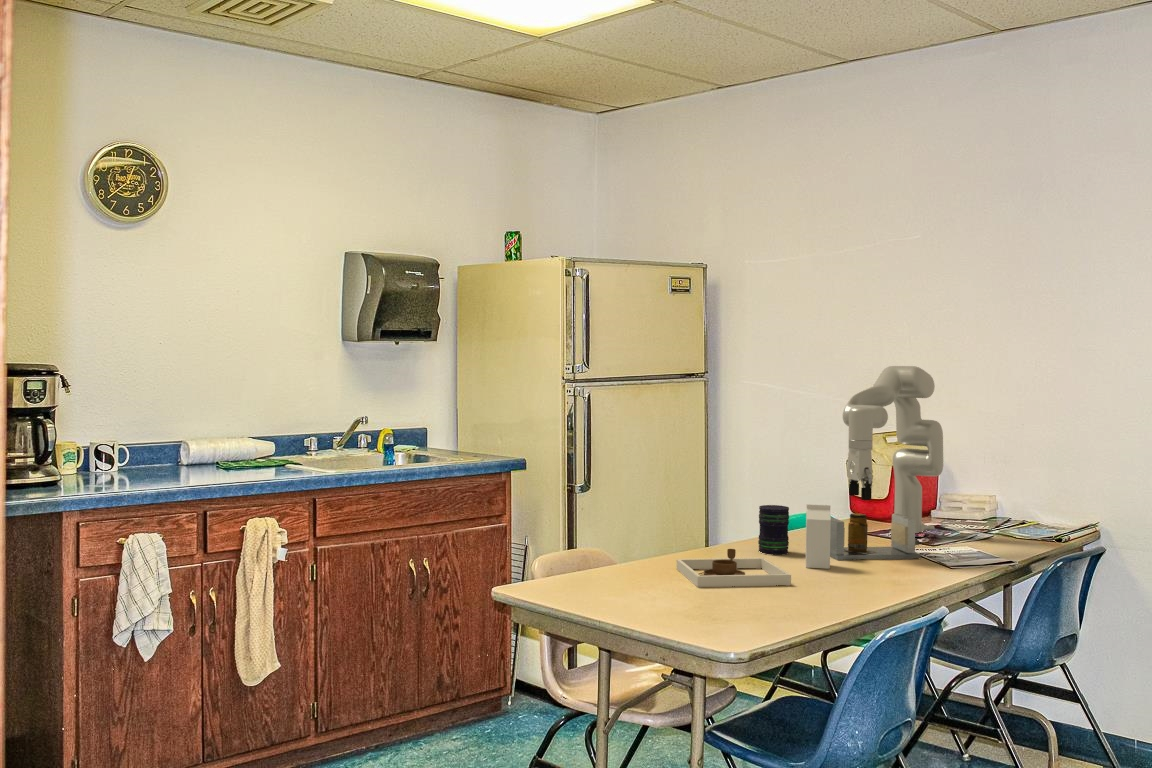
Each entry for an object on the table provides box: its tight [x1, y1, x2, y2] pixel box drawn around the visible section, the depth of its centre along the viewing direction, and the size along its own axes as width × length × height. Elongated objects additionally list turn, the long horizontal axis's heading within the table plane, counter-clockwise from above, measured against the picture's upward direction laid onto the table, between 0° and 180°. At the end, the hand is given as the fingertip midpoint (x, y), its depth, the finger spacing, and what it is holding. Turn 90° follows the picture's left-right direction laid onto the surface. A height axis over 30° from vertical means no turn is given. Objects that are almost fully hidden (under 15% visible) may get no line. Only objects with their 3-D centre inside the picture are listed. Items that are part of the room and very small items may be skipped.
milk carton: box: [805, 504, 832, 570], centre depth 325 cm, size 7×7×19 cm
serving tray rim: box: [676, 557, 792, 588], centre depth 308 cm, size 27×25×3 cm
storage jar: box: [757, 504, 790, 556], centre depth 348 cm, size 10×10×15 cm
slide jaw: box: [890, 513, 920, 553], centre depth 346 cm, size 7×12×11 cm, turn 8°
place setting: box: [698, 548, 746, 576], centre depth 308 cm, size 18×20×6 cm
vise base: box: [830, 516, 922, 561], centre depth 344 cm, size 28×14×12 cm, turn 98°
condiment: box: [844, 512, 876, 554], centre depth 343 cm, size 7×8×12 cm
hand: (860, 497), depth 344 cm, fingers open, 9 cm apart
